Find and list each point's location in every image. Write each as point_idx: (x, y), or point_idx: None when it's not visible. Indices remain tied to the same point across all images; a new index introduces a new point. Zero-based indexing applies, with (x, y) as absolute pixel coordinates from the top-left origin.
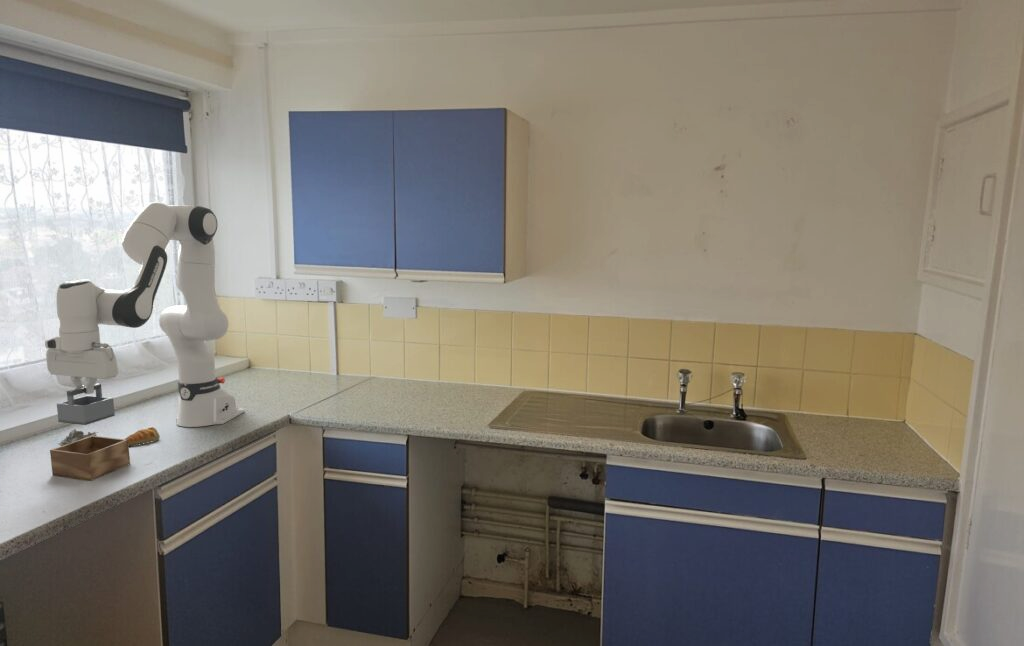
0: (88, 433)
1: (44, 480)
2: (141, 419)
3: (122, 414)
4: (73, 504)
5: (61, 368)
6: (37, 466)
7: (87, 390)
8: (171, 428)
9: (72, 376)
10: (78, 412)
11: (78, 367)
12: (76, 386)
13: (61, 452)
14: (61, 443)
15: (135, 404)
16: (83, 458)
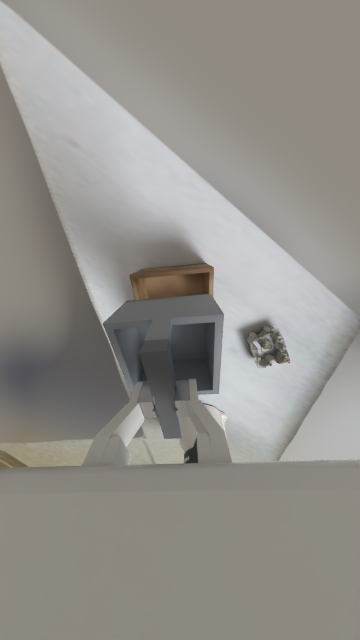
0: (270, 363)
1: (200, 245)
2: (259, 406)
3: (290, 409)
4: (69, 192)
5: (343, 569)
6: (256, 279)
7: (134, 391)
8: (209, 399)
9: (216, 461)
10: (134, 311)
11: (94, 628)
12: (189, 401)
13: (187, 269)
14: (275, 331)
15: (298, 426)
16: (140, 273)
